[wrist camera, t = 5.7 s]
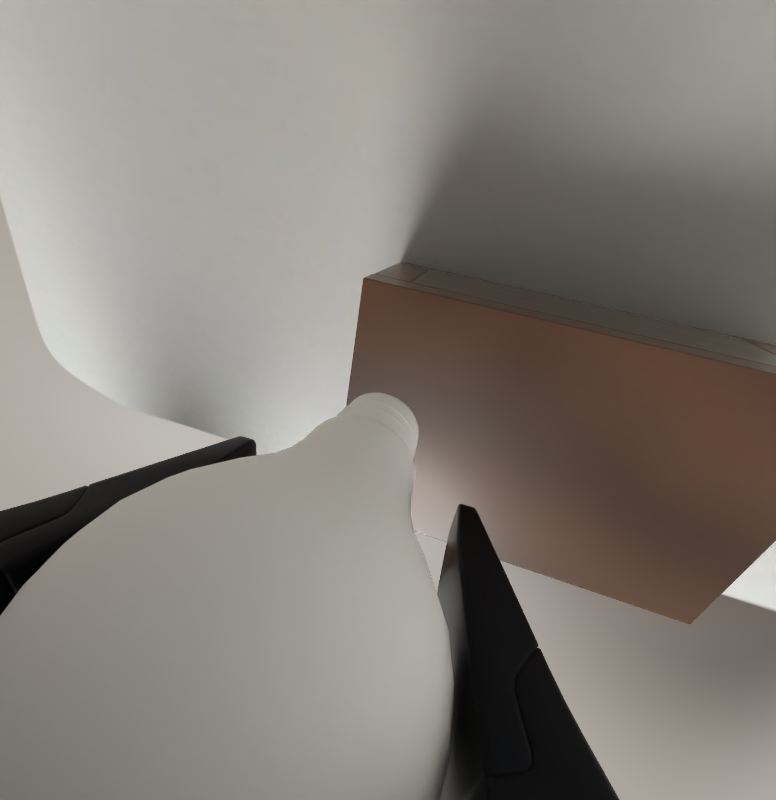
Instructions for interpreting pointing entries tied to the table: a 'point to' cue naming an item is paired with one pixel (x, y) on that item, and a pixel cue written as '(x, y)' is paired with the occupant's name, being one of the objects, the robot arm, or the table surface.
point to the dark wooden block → (579, 433)
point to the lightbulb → (239, 635)
